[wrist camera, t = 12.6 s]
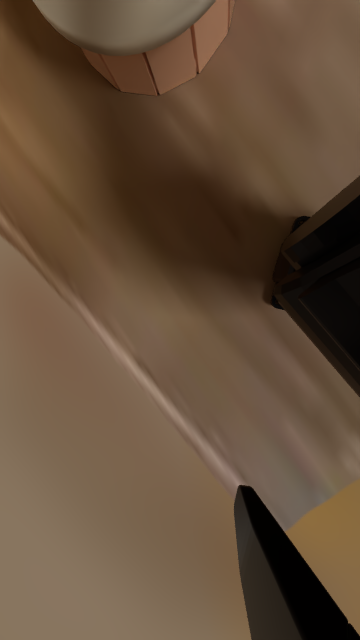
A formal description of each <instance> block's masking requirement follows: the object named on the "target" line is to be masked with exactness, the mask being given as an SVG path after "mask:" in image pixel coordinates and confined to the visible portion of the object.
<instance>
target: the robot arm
mask: <svg viewBox="0 0 360 640" xmlns="http://www.w3.org/2000/svg"><path fill="white" fill-rule="evenodd" d="M299 221H303V222H304V223H303V224H302V225H301V226H300V227H299V225H298V223H299ZM272 278H273V280H274V282H276V284H275V287H274V291H273V295H272V298H271V304H272V306H273V307H275V308H278V309H282V310H285V311H286V312H287V313H288V314H289V316H290V317H291V318H292V319H293V320H294V321H295V323H296V324H297V325H298V326H299V327H300V328H301V330H302V331H303V332H304V333H305V334H306V335H307V337H308V338H309V339H310V340H311V341H312V342H313V344H314V345H315V346H316V347H317V348H318V349H319V351H320V352H321V353H322V354H323V355H324V356H325V358H326V359H327V360H328V361H329V362H330V363H331V365H332V366H333V367H334V368H335V369H336V370H337V372H338V373H339V374H340V375H341V376H342V377H343V379H344V380H345V381H346V382H347V383H348V384H349V386H350V387H351V388H352V389H353V390H354V391H355V393H356V394H357V395H358V396H359V397H360V176H359V177H358V178H356V179H355V180H354V181H353V182H352V183H350V184H349V185H348V186H347V187H346V188H345V189H343V190H342V191H341V192H340V193H339V194H338V195H336V196H335V197H334V198H333V199H332V200H330V201H329V202H328V203H327V204H326V205H325V206H323V207H322V208H321V209H320V210H319V211H318V212H316V213H315V214H314V215H313V216H312V217H307V216H301V217H299V218H297V219H296V220H295V221H294V223H293V226H292V230H291V233H290V235H289V236H288V237H287V238H286V239H285V242H284V243H283V244H282V246H281V249H280V253H279V256H278V259H277V263H276V266H275V270H274V273H273V277H272ZM276 299H277V302H278V303H279V305H277V304H276V303H275V301H276ZM234 517H235V528H236V539H237V549H238V560H239V569H240V576H241V583H242V588H243V594H244V599H245V605H246V611H247V617H248V622H249V628H250V633H251V639H252V640H360V636H359V634H358V633H357V632H356V630H355V629H354V627H353V626H352V625H351V624H350V623H349V624H348V620H347V618H346V617H345V615H344V614H343V612H342V611H341V610H340V608H339V607H338V606H337V604H336V603H335V601H334V600H333V599H332V597H331V596H330V594H329V593H328V592H327V590H326V589H325V588H324V586H323V585H322V583H321V582H320V581H319V579H318V578H317V576H316V575H315V574H314V572H313V571H312V570H311V568H310V567H309V565H308V564H307V563H306V561H305V560H304V558H303V557H302V556H301V554H300V553H299V552H298V550H297V549H296V547H295V546H294V545H293V543H292V542H291V541H290V539H289V538H288V536H287V535H286V534H285V532H284V531H283V529H282V528H281V527H280V525H279V524H278V522H277V521H276V520H275V518H274V517H273V516H272V514H271V513H270V511H269V510H268V509H267V507H266V506H265V504H264V503H263V502H262V500H261V499H260V498H259V496H258V495H257V493H256V492H255V491H254V489H253V488H252V487H251V486H245V485H239V486H238V489H237V494H236V498H235V503H234Z"/></svg>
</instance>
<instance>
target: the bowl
mask: <svg viewBox="0 0 360 640" xmlns="http://www.w3.org/2000/svg"><path fill="white" fill-rule="evenodd" d="M234 3H235V0H216V1H215V3H214V4H213V5H212V6H211V7H210V8H209V9H208V11H207V12H206V13H205V14H204V15H203V16H202V17H201V18H200V19H199V20H198V21H197V22H196V23H194V24H193V25H192V26H191V27H190V28H189V29H187V30H186V31H185V32H184V33H182V34H181V35H179V36H178V37H176V38H175V39H173V40H172V41H170V42H168V43H166V44H164V45H162V46H160V47H158V48H156V49H153V50H150V51H147V52H143V53H140V54H134V55H128V56H108V55H103V54H98V53H94V52H91V51H88V50H86V49H83V48H81V47H80V48H81V49H82V51H83V53H84V54H85V56H86V57H87V59H88V61H89V62H90V64H91V65H92V66H93V67H94V68H95V69H96V70H97V71H98V72H99V73H100V74H101V75H103V76H104V77H105V78H106V79H107V80H108V81H109V82H110V83H111V84H112V85H113V86H114V87H116V88H117V89H118V90H119V89H120V90H121V92H129V93H137V94H145V95H153V96H157V93H160V95H162V94H164V93H166V92H167V91H169V90H171V89H173V88H175V87H177V86H179V85H181V84H183V83H185V82H187V81H188V80H190V79H192V78H194V77H196V73H197V72H198V73H199V74H200V72H201V71H202V69H203V68H204V66H205V65H206V64H207V62H208V61H209V59H210V58H211V56H212V55H213V54H214V52H215V51H216V49H217V48H218V46H219V45H220V43H221V42H222V41H223V39H224V38H225V36H226V35H227V31H228V29H229V28H230V23H231V18H232V13H233V8H234Z"/></svg>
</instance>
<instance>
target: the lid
mask: <svg viewBox="0 0 360 640" xmlns="http://www.w3.org/2000/svg"><path fill="white" fill-rule="evenodd" d="M215 1H216V0H33V2H34V3H35V5H36V6H37V8H38V9H39V10H40V12H41V13H42V15H43V16H44V17H45V19H46V20H47V21H48V22H49V23H50V24H51V25H52V26H53V28H54V29H55V30H56V31H57V32H59V33H60V34H61V35H62V36H64V37H65V38H66V39H67V40H69V41H70V42H72V43H74V44H75V45H77V46H79V47H81V48H83V49H86V50H88V51H91V52H94V53H98V54H103V55H108V56H128V55H134V54H140V53H143V52H147V51H150V50H153V49H156V48H158V47H160V46H162V45H164V44H166V43H168V42H170V41H172V40H173V39H175V38H176V37H178V36H179V35H181V34H182V33H184V32H185V31H186V30H187V29H189V28H190V27H191V26H192V25H193V24H194V23H196V22H197V21H198V20H199V19H200V18H201V17H202V16H203V15H204V14H205V13H206V12H207V11H208V9H209V8H210V7H211V6H212V5H213V4H214V3H215Z"/></svg>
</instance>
